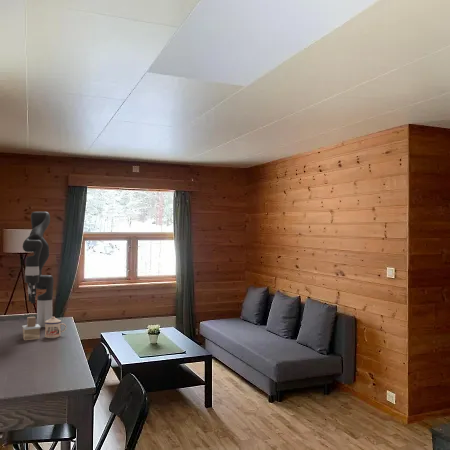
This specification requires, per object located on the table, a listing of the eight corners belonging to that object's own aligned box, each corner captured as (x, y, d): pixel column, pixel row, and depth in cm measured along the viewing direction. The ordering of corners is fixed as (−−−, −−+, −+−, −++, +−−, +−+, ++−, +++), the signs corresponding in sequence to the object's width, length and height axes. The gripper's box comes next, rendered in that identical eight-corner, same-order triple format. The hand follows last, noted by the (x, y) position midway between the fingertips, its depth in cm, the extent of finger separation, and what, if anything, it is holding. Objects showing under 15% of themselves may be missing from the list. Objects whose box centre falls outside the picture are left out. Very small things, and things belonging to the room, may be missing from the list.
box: (22, 337, 271) (22, 327, 271) (37, 336, 275) (37, 325, 275) (24, 340, 264) (24, 329, 264) (39, 338, 268) (39, 328, 268)
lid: (22, 328, 271) (22, 316, 271) (37, 327, 276) (38, 315, 276) (24, 331, 264) (24, 319, 264) (40, 330, 268) (40, 317, 268)
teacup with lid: (44, 338, 268) (44, 318, 268) (44, 335, 277) (44, 315, 277) (66, 337, 273) (66, 317, 273) (65, 334, 281) (66, 314, 281)
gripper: (23, 273, 275) (22, 301, 274) (27, 275, 262) (26, 304, 262) (37, 273, 278) (36, 300, 278) (41, 275, 266) (40, 303, 266)
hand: (31, 302), depth 270 cm, fingers open, 8 cm apart
